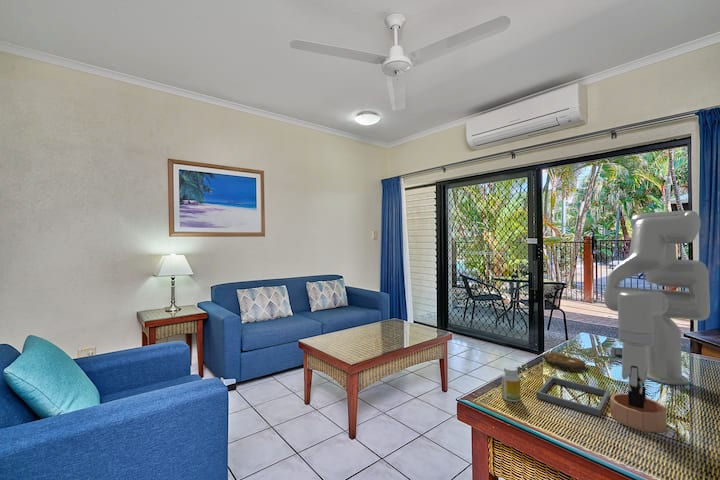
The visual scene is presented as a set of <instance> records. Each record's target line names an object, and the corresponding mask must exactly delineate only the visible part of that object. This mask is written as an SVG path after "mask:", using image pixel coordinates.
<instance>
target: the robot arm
mask: <svg viewBox="0 0 720 480" xmlns="http://www.w3.org/2000/svg"><path fill="white" fill-rule="evenodd" d="M701 225H702V224H701V218H700V215H699V214H698V213H697V212H696V211H695V210H676V211H674V210H673V211H658V212H657V211H655V212H644V213H643V212H642V213H639V214H636V215H633V216H632V217H631V218H630V228H631V230H632V232H631V237H630V245H629V246H630V247H629V253H628V257H627V258H626V259H624V260H623V261H621V262H620V263H618V264H617V265H616V266H615V267H614V268H613V269H612V270H611V271H610V272H609V274H608V276H607V277H606V278H607V279H606V282H605V283H606V284H605V290H604V295H603V296H604V297H603V298H604V304H605V307H606V308H607V309H609V310H610V311H613V312H617V319H618V320H617V321H618V325H617V327H618V329H617V332H618V337H617V338H618V341H619V342H621V343H622V348H623V349H622V359H621V360H622V361H621V366H622V368H621V378H622V379H623V380H627V379H628V392H627V394H628V403H629V405H630V406H633V407H637V408H641V409H644V396H645V399H646V398H647V397H646V396H647V395H646V386H645V384H646V380H647V379H649V381H650V380H651V381H654V382H658V383H662V384H666V385H674V386H675V385H676V386H683V385H684V386H685V385H688V383H689V379H688V377H686V376H685V375H683V370H682V369H683V366H682V364H683V363H682V332H681V329H680V327H679V326H678V325H677V324H676V322H675V321H674V320H673V319H681V320H690V321H705V320H707V319H708V318H709V317H710V314H711V299H710V298H711V295H710V294H711V293H710V292H711V291H710V278H709V277H710V276H709V270H708V268H707V266H706V264H705V262H702V261H700V260H694V259H678V257H677V245H676V244H688V243H689V244H690V243H692V242H693V241H695V240H696V238H697V235H698V234H699V232H700V229H701ZM643 273H644V275H645V279H646V282H647V283H648V284H650V285H652V286H657V287H668V288H670V287H671V288H681V289H683V288H685V289H688V290H687V291H686V290H685V291H684V290H673V289H662V288H654V289H653V288H652V289H651V288H650V289H649V288H639V287H625V286H620V285H621V284H622V282H624V281H625V280H626V279H628V278H630V277H634V276H636V275H640V274H643Z"/></svg>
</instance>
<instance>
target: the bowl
mask: <svg viewBox="0 0 720 480" xmlns="http://www.w3.org/2000/svg"><path fill="white" fill-rule="evenodd" d="M646 401H647V402H646V403H645V404H644V409H641V408H637V407H633V406H630V405H629V403H628V393H623V392H619V393H612V394H611V395H610V397H609V409H610V411H609V413H610V415H611V417H612V418H613V420H615V421H616V422H617V423H620V424H621V425H623V426H626V427H627V428H629V429H630V428H631V429H634V430H637V431H641V432H647V433H654V434H655V433H656V434H657V433H664V432H666V431H667V408H666V406H664V405H663V404H661V403H660V402H659V401H656V400H653V399H651V398H648V397H646Z"/></svg>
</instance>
